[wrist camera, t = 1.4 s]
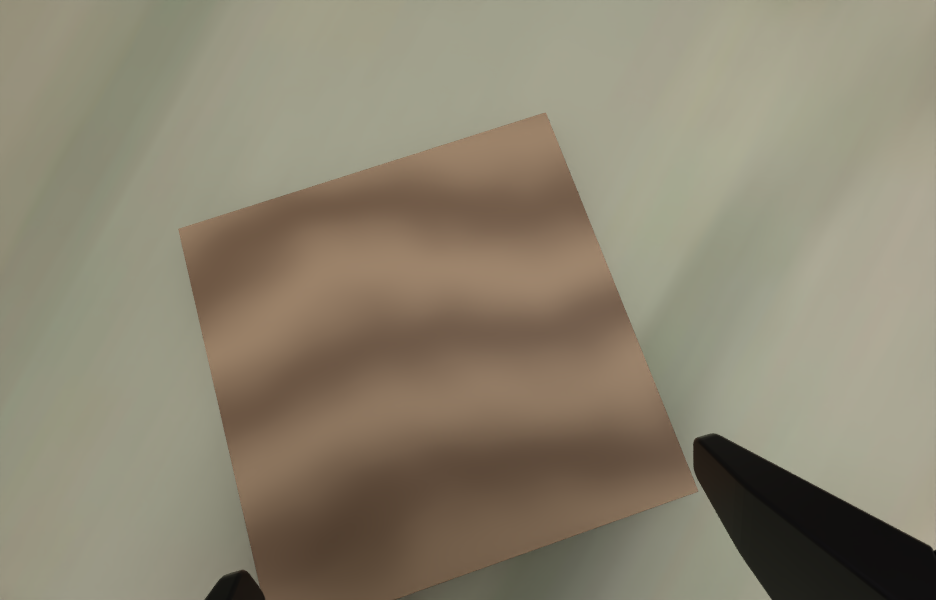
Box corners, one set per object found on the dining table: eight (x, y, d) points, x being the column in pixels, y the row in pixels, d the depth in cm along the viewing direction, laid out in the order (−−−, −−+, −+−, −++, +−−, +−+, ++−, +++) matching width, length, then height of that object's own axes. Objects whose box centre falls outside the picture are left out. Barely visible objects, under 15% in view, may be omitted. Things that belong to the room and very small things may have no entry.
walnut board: (686, 486, 23) (698, 491, 22) (283, 629, 22) (272, 643, 21) (542, 124, 27) (545, 112, 25) (191, 236, 26) (178, 229, 25)
